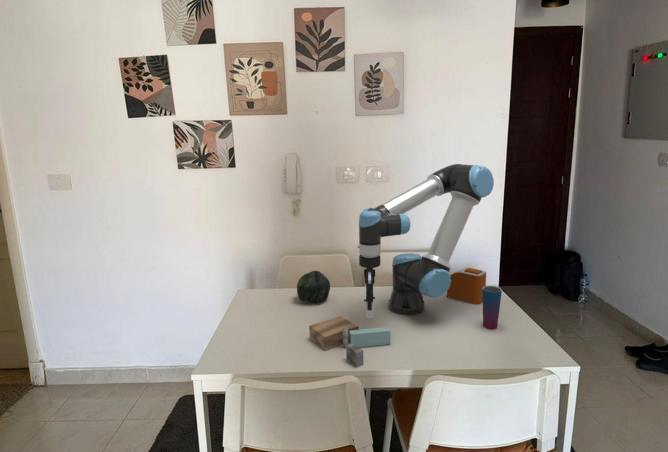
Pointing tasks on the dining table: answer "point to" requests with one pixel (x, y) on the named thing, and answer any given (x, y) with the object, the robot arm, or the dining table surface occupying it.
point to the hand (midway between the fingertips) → (369, 317)
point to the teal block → (370, 337)
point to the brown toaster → (467, 285)
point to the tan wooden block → (337, 337)
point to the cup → (491, 306)
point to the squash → (313, 287)
